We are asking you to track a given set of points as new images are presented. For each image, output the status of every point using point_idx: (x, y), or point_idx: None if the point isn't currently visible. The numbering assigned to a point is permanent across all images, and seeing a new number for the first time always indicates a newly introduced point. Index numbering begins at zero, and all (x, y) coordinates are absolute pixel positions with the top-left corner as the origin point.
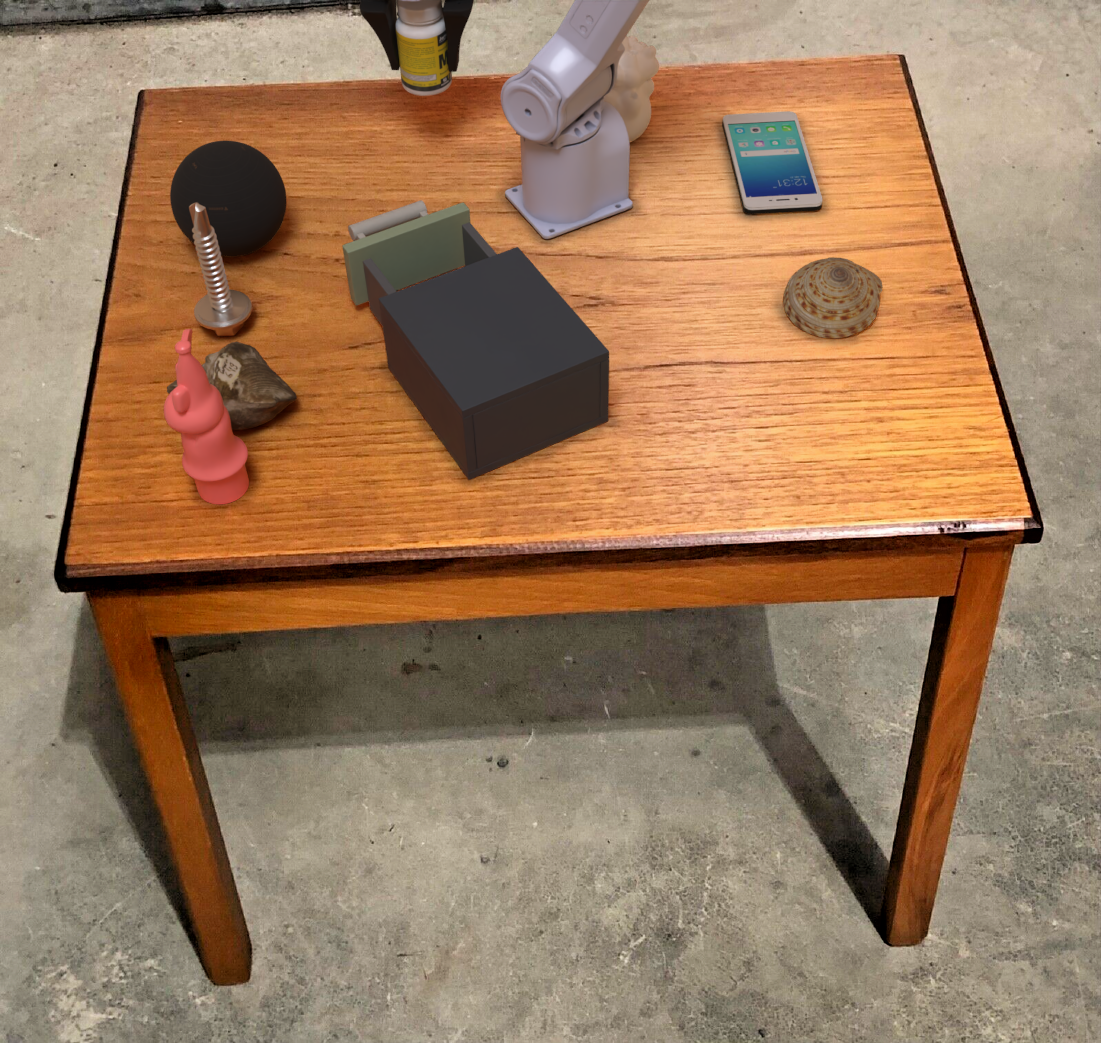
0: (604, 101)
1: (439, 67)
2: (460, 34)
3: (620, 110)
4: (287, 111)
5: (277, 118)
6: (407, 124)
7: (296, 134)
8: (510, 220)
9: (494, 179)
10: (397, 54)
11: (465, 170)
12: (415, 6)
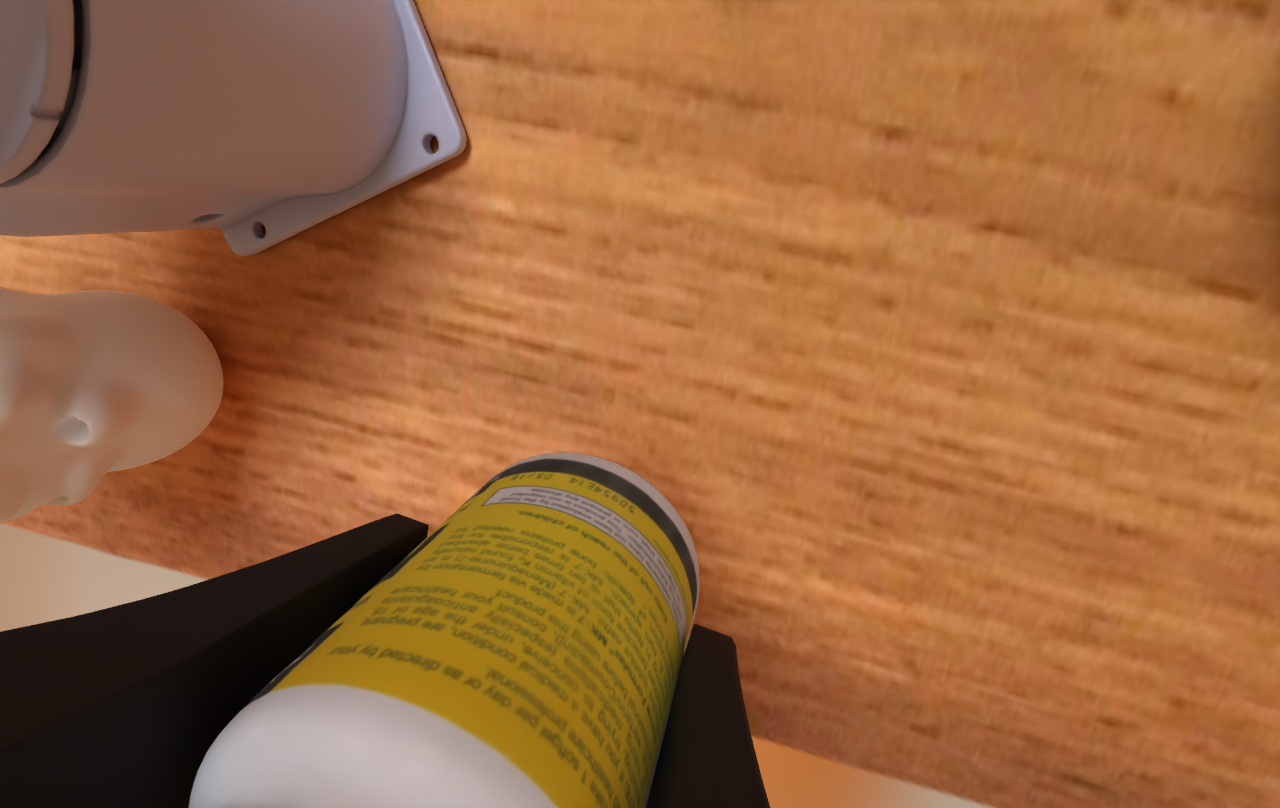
0: (18, 320)
1: (442, 528)
2: (59, 620)
3: (18, 302)
4: (1090, 753)
5: (1138, 734)
6: (722, 576)
7: (1096, 640)
8: (460, 2)
9: (498, 246)
10: (673, 711)
11: (579, 313)
12: None
